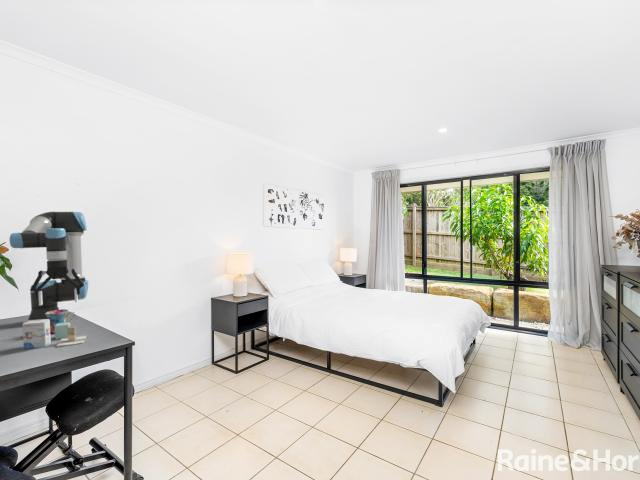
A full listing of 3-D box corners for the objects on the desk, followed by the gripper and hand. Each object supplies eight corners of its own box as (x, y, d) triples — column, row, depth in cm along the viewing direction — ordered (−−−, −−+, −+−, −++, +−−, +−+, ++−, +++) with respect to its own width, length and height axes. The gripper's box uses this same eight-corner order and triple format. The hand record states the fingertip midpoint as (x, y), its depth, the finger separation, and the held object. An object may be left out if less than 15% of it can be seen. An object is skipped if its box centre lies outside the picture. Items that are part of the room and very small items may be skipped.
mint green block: (57, 336, 158) (57, 323, 157) (70, 334, 160) (70, 321, 160) (55, 339, 153) (54, 326, 153) (68, 337, 156) (68, 324, 155)
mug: (45, 335, 159) (44, 315, 159) (46, 331, 166) (45, 311, 166) (75, 330, 167) (74, 310, 166) (75, 326, 174) (74, 307, 173)
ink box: (22, 349, 141) (21, 323, 141) (29, 345, 146) (28, 320, 146) (45, 347, 144) (44, 321, 143) (51, 343, 149) (50, 318, 148)
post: (61, 339, 153) (60, 325, 153) (86, 335, 158) (86, 322, 158) (55, 347, 143) (54, 332, 142) (83, 343, 148) (82, 328, 147)
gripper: (20, 262, 143) (22, 308, 144) (87, 258, 156) (89, 301, 156) (25, 260, 150) (27, 304, 151) (89, 257, 162) (91, 298, 163)
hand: (59, 303), depth 154 cm, fingers open, 13 cm apart
